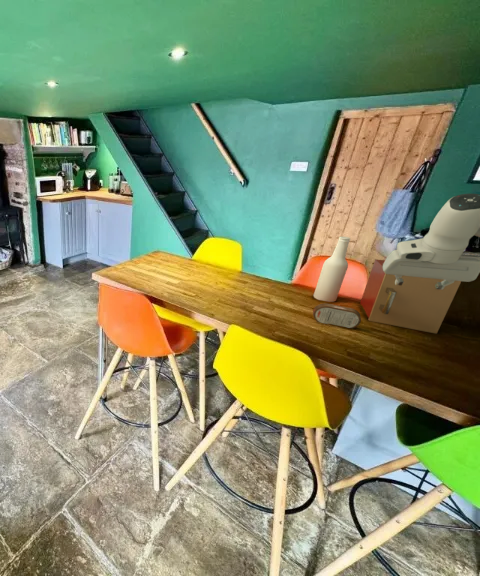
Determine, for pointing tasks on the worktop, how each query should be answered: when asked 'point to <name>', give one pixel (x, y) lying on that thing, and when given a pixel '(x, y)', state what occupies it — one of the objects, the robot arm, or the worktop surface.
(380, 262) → the red cabinet
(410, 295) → the door
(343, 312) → the tin
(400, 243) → the robot arm
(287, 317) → the worktop surface
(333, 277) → the alcohol
